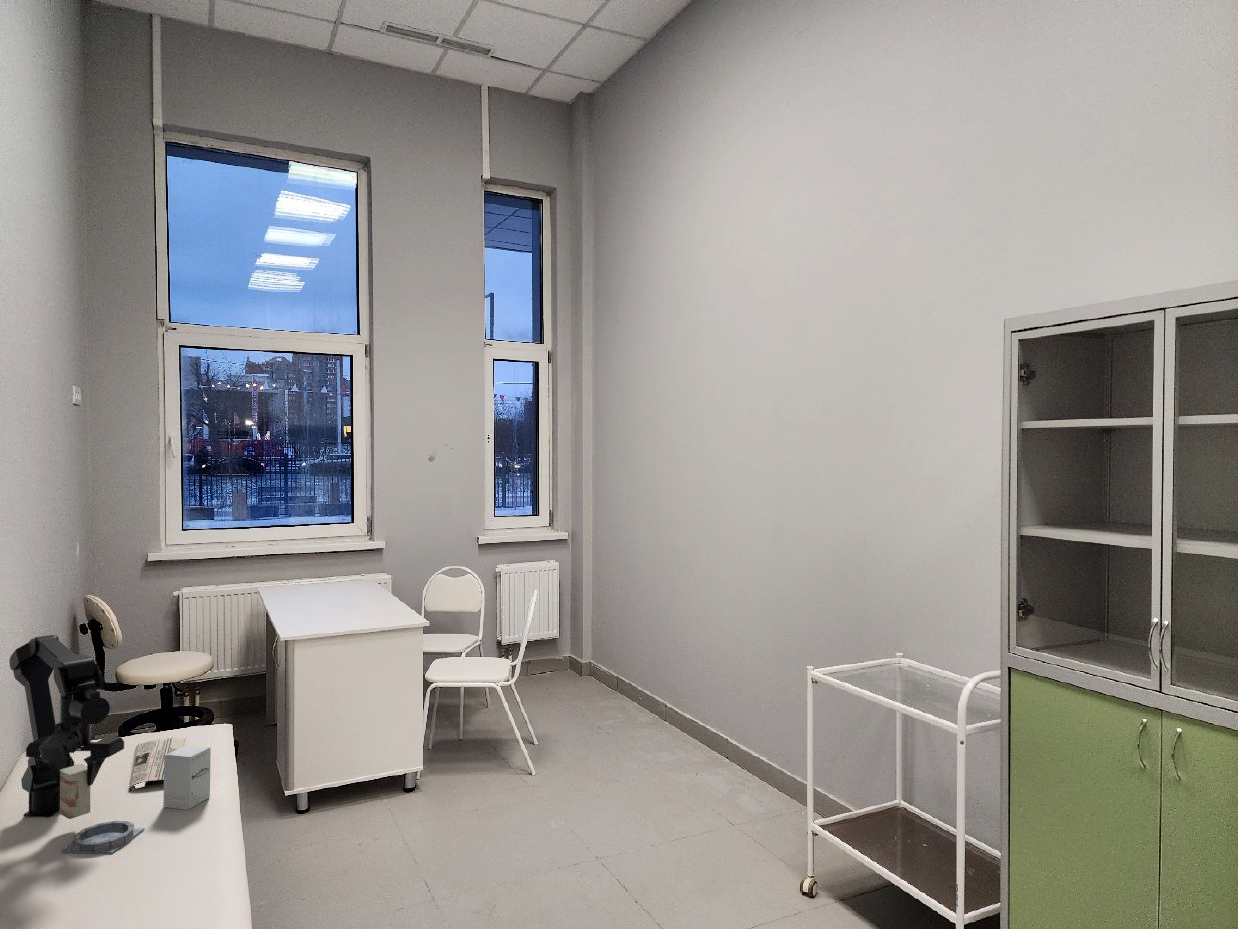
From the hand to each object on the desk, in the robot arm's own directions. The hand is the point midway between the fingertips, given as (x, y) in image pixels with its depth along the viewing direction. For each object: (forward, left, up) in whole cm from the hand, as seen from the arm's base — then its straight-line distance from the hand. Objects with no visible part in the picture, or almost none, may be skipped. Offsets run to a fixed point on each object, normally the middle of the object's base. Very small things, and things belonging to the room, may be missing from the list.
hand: (75, 785), depth 178 cm
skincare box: (0, 0, -7) cm, 6 cm away
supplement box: (+17, +15, -10) cm, 25 cm away
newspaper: (-4, +38, -11) cm, 40 cm away
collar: (+10, -5, -10) cm, 15 cm away
